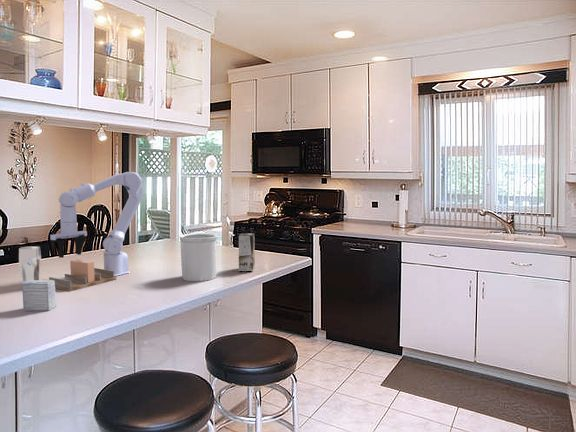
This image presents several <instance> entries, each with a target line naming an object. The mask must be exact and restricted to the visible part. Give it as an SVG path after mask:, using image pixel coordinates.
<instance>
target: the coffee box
mask: <svg viewBox="0 0 576 432" xmlns="http://www.w3.org/2000/svg"><path fill="white" fill-rule="evenodd" d="M255 240H256V239H255V233H254V232H253V233H252V232H250V233H248V232H245V233H240V234H239V235H238V272H239V271H253V272H254V270H253V269H255V268H254V267H255V261H256V260H255V255H256V254H255V247H256V246H255V243H256V242H255Z"/></svg>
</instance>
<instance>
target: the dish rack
mask: <svg viewBox="0 0 576 432" xmlns="http://www.w3.org/2000/svg"><path fill="white" fill-rule="evenodd" d="M94 276H95V281H94V282H89V283H87V277H81V276H75V275H71V274H68V273H65V274H64V279H63V278H58V277H57V278H56V277H51V276H50V277H49V278H48V280H54V281H55V290H56V289H57V290H61V291H67V292H72V291H76V290H81V289H84V288H89V287H93V286H97V285H100V284H105V283H109V282H112V281H116V280H117V276H114V271H111V270H104V268H96V267H94Z"/></svg>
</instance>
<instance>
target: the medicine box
mask: <svg viewBox="0 0 576 432" xmlns="http://www.w3.org/2000/svg"><path fill="white" fill-rule="evenodd" d="M22 283H23V282H22ZM22 283H21V289H22V290H21V291H22V307H23V312H28V311H30V312H31V311H33V312H34V311H38V312H39V311H42V312H43V311H48V312H49V311H51V310H53V309H54V308H55V307H57V301H56V300H57V298H56V297H57V295H56V288H55V281H54V280H49V279H46V280H45V279H44V280H43V279H39V280H30V281H27V282H25V283H23V284H22Z"/></svg>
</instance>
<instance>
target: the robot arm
mask: <svg viewBox="0 0 576 432" xmlns="http://www.w3.org/2000/svg"><path fill="white" fill-rule="evenodd" d="M116 185H117V186H124V188H125V189H126V191H127V193H128V198H127V200H126V203H125V204H124V207H123V209H122V211H121V212H120V215H119V217H118V219H117V220H116V223H115V225H114V227H113V229H112V230H111V231H110V232H109V234H108V236H106V237H105V238H104V240H103V242H102V247H103V249H105V250H104V252H103V269H104V270H111V271H114V277H117V276H122V275H125V274H129V273H131V271H130V269H129V256H128V254H127V253H126V252H125V251H122V250H123V247H124V245H123V244H124V243H123V242H124V241H125V235H126V232H127V230H128V229H129V227H130V224H131V222H132V220H133V218H134V216H135V214H136V212H137V210H138V208H139V205H140V203H142V199H143V197H144V193H143V180H142V178H141V176H140V174H139V173H137V172H135V171H126V172H125V171H124V172H123V173H118V174H114V175H112V176H109V177H108V178H104V179H103V180H101V181H98V182H96V183H93V184H91V183H85V182H83V183H81V185H79V186H77V187H75V188H68V189H69V191H64V192H62V193H60V195H59V196H58V197H59V198H58V202H59V203H60V207H59V208H60V211H59V214H60V215H59V217H60V219H59V220H60V233H55V234H50V241H51V244H52V245H53V246H54V248H55V250H56V252H57V255H58V256H57V257H58V258H61V259H62V258H64V256H65V252H64V250H65V244H66V240H63V239H71V238H73V241H74V245H75V247H74V248H75V255H79V256H80V255H81V254H82V252H83V251H82V250H83V247H84V246H85V242H86V241H87V236H88V231H87V230H81V231H80V230H79V231H78V221H77V218H78V217H77V207H76V205H77V203H81V202H83V201H86V200H89V199H91V198H93V197H95V196H96V193H97V192H99V191H102V190H104V189H107V188H110V187H113V186H116Z"/></svg>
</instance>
